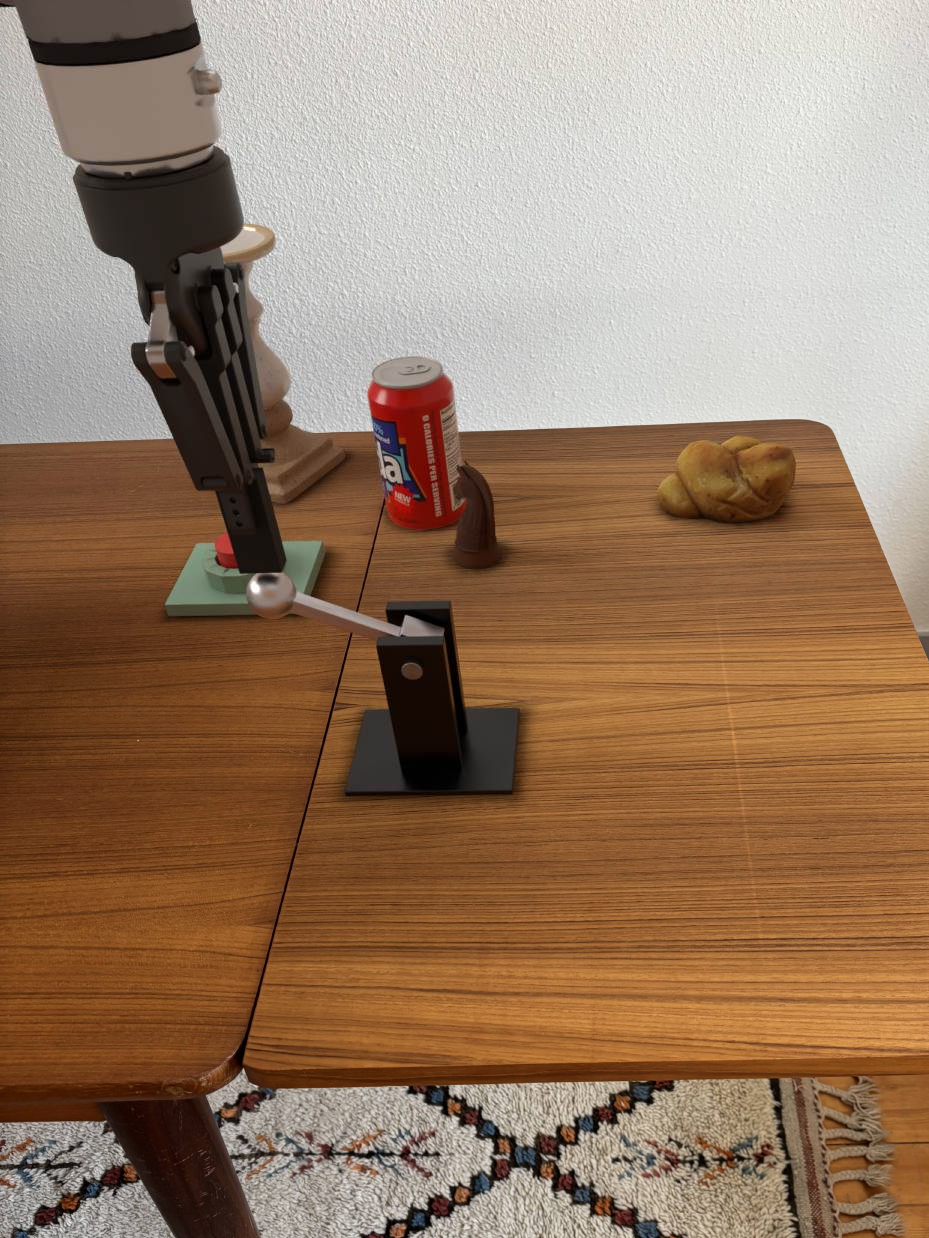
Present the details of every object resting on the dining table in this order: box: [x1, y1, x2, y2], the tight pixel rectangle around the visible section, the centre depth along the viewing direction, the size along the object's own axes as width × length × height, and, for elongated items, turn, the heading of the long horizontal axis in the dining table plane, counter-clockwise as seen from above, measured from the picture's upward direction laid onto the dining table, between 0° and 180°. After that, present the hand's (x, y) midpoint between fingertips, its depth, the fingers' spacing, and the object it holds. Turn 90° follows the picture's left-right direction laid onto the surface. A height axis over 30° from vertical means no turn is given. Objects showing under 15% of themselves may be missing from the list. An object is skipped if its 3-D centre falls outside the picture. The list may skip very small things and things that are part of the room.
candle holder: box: [221, 222, 346, 505], centre depth 104 cm, size 11×11×24 cm
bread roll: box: [656, 434, 797, 523], centre depth 101 cm, size 13×10×8 cm
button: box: [214, 532, 238, 569], centre depth 93 cm, size 4×4×2 cm
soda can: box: [366, 355, 468, 531], centre depth 100 cm, size 8×8×15 cm
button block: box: [164, 540, 326, 617], centre depth 95 cm, size 12×10×4 cm
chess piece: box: [452, 460, 502, 570], centre depth 95 cm, size 5×5×10 cm
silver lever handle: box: [246, 572, 444, 642], centre depth 70 cm, size 13×3×3 cm, turn 89°
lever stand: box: [344, 600, 521, 797], centre depth 74 cm, size 12×9×13 cm
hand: (263, 566), depth 67 cm, fingers closed
